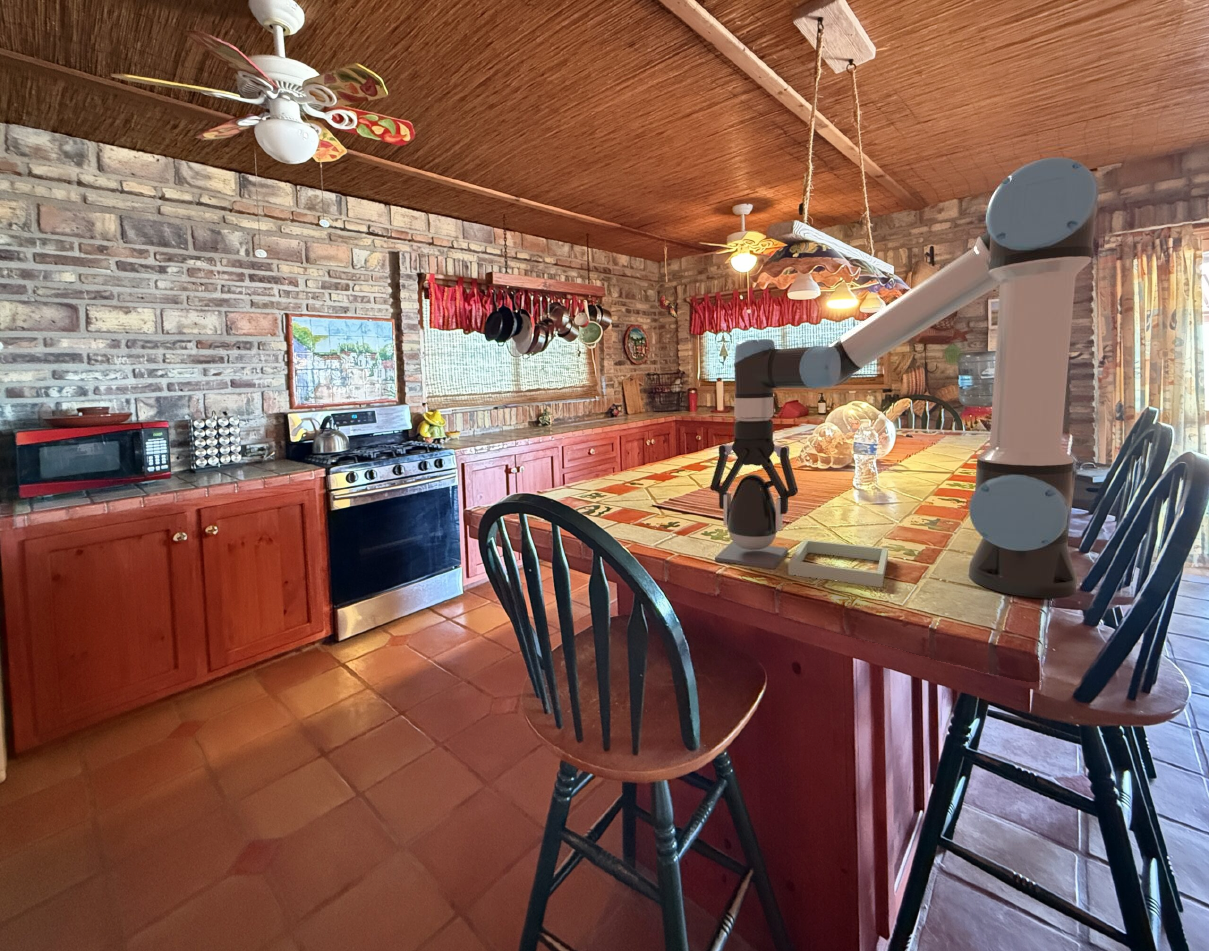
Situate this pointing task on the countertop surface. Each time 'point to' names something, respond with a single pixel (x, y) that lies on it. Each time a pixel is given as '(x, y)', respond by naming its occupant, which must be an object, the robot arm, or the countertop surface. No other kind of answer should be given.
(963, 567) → the countertop surface
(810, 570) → the gray rectangular frame
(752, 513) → the pump dispenser
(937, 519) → the countertop surface
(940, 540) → the countertop surface
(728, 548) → the mat
